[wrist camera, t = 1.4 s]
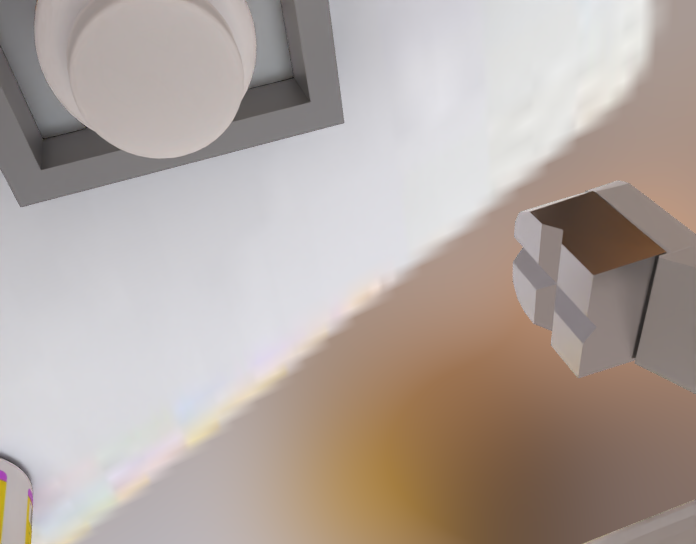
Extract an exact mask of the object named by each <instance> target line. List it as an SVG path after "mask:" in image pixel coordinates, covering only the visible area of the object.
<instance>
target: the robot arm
mask: <svg viewBox="0 0 696 544" xmlns="http://www.w3.org/2000/svg"><path fill="white" fill-rule="evenodd" d="M514 237H515V238H516V239H517V241H518V242H519V243H520V244H521V245H522V246H523V248H522V250H521V251H520V253H519V254H518V256H517V257H516V259H515V260H514V262H513V283H514V287H515V290H516V294H517V298H518V300H519V302H520V304H521V306H522V308H523V310H524V312H525V313H526V314H527V316H528V317H529V318H530V320H531V321H532V322H533V323H534V324H536V325H538V326H541V327H543V328H546V329H548V330H551V331H552V339H551V346H552V347H553V348H554V349H555V351H556V352H557V353H558V354H559V356H560V357H561V358H562V359H563V361H564V362H565V363H566V364H567V365H568V367H569V368H570V369H571V370H572V372H573V373H574V374H575V375H576V377H577V378H581V377H584V376H587V375H590V374H593V373H596V372H600V371H603V370H606V369H609V368H612V367H615V366H619V365H622V364H625V363H628V362H631V361H634V360H635V364H637V365H639V366H641V367H643V368H645V369H647V370H649V371H651V372H653V373H655V374H657V375H659V376H661V377H663V378H665V379H667V380H669V381H671V382H673V383H675V384H677V385H678V386H680V387H683V388H684V389H686V390H689V391H690V392H693V393H694V394H696V234H695V233H694V232H692V231H691V230H690V229H688V228H687V227H686V226H684V225H683V224H682V223H681V222H679V221H678V220H677V219H675V218H674V217H673V216H671V215H670V214H669V213H667V212H666V211H665V210H663V209H662V208H661V207H660V206H658V205H657V204H656V203H654V202H653V201H652V200H651V199H649V198H648V197H647V196H645V195H644V194H643V193H641V192H640V191H639V190H637V189H636V188H635V187H634V186H632V185H631V184H630V183H627V182H623V181H615V182H612V183H609V184H606V185H603V186H600V187H597V188H593V189H590V190H588V191H586V192H585V193H581V194H578V195H574V196H571V197H567V198H564V199H561V200H558V201H554V202H551V203H548V204H545V205H541V206H538V207H535V208H531V209H528V210H525V211H522V212H519V214H518V217H517V219H516V221H515V233H514ZM583 544H696V499H695V500H693V501H690V502H687V503H685V504H682V505H680V506H678V507H675V508H672V509H670V510H667V511H665V512H662V513H660V514H657V515H655V516H652V517H649V518H647V519H644V520H642V521H639V522H637V523H634V524H632V525H629V526H627V527H624V528H622V529H619V530H616V531H614V532H611V533H609V534H606V535H604V536H601V537H599V538H596V539H593V540H591V541H588V542H586V543H583Z"/></svg>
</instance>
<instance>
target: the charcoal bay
mask: <svg viewBox="0 0 696 544" xmlns="http://www.w3.org/2000/svg"><path fill="white" fill-rule="evenodd" d="M281 6H282V12H283V17H284V23H285V29H286V35H287V40H288V46H289V52H290V57H291V63H292V69H293V75H294V78H292V79H288V80H284V81H280V82H276V83H272V84H268V85H264V86H260V87H256V88H252V89H248V90H247V91H246V93H245V95H244V97H243V99H242V100H241V103H240V106H239V109H238V111H237V113H236V115H235V117H234V119H233V121H232V122H231V124H230V125H229V127H228V128H227V129H226V130H225V131H224V132H223V133H222V134H221V135H220V136H219V137H218V138H217V139H216V140H215V141H213V142H212V143H210V144H209V145H208V146H206V147H204V148H202V149H200V150H198V151H196V152H193V153H190V154H187V155H184V156H180V157H175V158H160V159H158V158H148V157H143V156H137V155H134V154H131V153H128V152H126V151H124V150H121V149H119V148H117V147H115V146H114V145H112V144H110V143H109V142H107V141H106V140H104V139H103V138H102V137H100V136H99V135H98V134H97V133H96V132H95V131H93V130H91V129H90V128H88V129H84V130H80V131H76V132H72V133H68V134H64V135H60V136H56V137H52V138H48V139H44V140H43V138H42V136H41V134H40V132H39V129H38V127H37V125H36V123H35V121H34V119H33V116H32V114H31V112H30V110H29V108H28V105H27V103H26V101H25V99H24V97H23V94H22V92H21V90H20V88H19V86H18V84H17V81H16V79H15V77H14V75H13V73H12V70H11V68H10V66H9V64H8V62H7V59H6V57H5V55H4V53H3V51H2V49H1V46H0V169H1V171H2V173H3V175H4V177H5V178H6V180H7V182H8V184H9V186H10V188H11V190H12V192H13V194H14V196H15V198H16V200H17V202H18V204H19V205H20V207H24V206H28V205H32V204H35V203H39V202H43V201H47V200H51V199H55V198H58V197H62V196H66V195H70V194H74V193H78V192H81V191H85V190H89V189H93V188H97V187H101V186H104V185H108V184H112V183H116V182H120V181H124V180H127V179H131V178H135V177H139V176H143V175H147V174H150V173H154V172H158V171H162V170H166V169H170V168H174V167H177V166H181V165H185V164H189V163H193V162H197V161H200V160H204V159H208V158H212V157H216V156H220V155H223V154H227V153H231V152H235V151H239V150H243V149H246V148H250V147H254V146H258V145H262V144H266V143H269V142H273V141H277V140H281V139H285V138H289V137H292V136H296V135H300V134H304V133H308V132H312V131H315V130H319V129H323V128H327V127H331V126H335V125H339V124H342V123H344V117H343V109H342V102H341V94H340V86H339V79H338V71H337V63H336V56H335V48H334V40H333V33H332V25H331V17H330V10H329V2H328V0H281Z"/></svg>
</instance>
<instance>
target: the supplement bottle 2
mask: <svg viewBox="0 0 696 544" xmlns="http://www.w3.org/2000/svg"><path fill="white" fill-rule="evenodd" d="M34 38H35V47H36V52H37V56H38V61H39V64H40V67H41V69H42V72H43V74H44V77H45V79H46V81H47V83H48V85H49V86H50V88H51V90H52V91H53V93H54V94H55V96H56V97H57V98H58V100H59V101H60V102H61V104H62V105H63V106H64V107H65V108H66V109H67V110H68V111H69V112H70V113H71V114H72V115H73V116H74V117H75V118H76V119H78V120H79V121H80V122H81V123H83V124H84V125H85V126H87V127H88V128H90V129H91V130H93V131H95V132H96V133H97V134H98V135H99V136H100V137H102V138H103V139H104V140H106V141H107V142H109V143H110V144H112V145H114V146H115V147H117V148H119V149H121V150H124V151H126V152H128V153H131V154H134V155H137V156H143V157H148V158H158V159H160V158H175V157H180V156H184V155H187V154H190V153H193V152H196V151H198V150H200V149H202V148H204V147H206V146H208V145H209V144H210V143H212V142H213V141H215V140H216V139H217V138H218V137H219V136H220V135H221V134H222V133H223V132H224V131H225V130H226V129H227V128H228V127H229V125H230V124H231V122H232V121H233V119H234V117H235V115H236V113H237V111H238V109H239V106H240V103H241V100H242V99H243V97H244V95H245V93H246V91H247V89H248V87H249V84H250V82H251V79H252V76H253V72H254V68H255V62H256V33H255V27H254V22H253V19H252V15H251V12H250V9H249V7H248V4H247V2H246V0H37V4H36V9H35V18H34Z"/></svg>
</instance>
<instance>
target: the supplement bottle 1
mask: <svg viewBox="0 0 696 544" xmlns="http://www.w3.org/2000/svg"><path fill="white" fill-rule="evenodd" d="M32 513H33V490H32V485H31V482H30V480H29V478H28V477H27V475H26V474H25V473H24V472H23V471H22V470H21V469H20V468H19V467H17V466H16V465H14V464H12V463H11V462H9V461H7V460H4V459H2V458H0V544H31V533H32Z"/></svg>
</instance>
